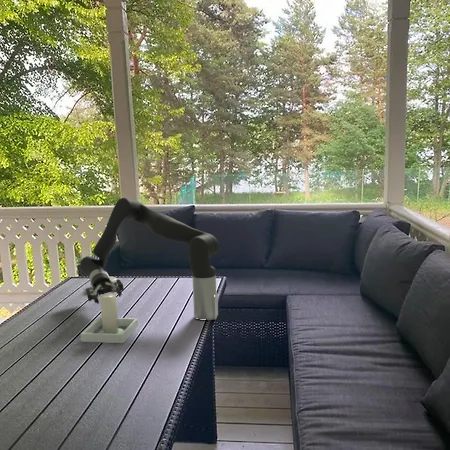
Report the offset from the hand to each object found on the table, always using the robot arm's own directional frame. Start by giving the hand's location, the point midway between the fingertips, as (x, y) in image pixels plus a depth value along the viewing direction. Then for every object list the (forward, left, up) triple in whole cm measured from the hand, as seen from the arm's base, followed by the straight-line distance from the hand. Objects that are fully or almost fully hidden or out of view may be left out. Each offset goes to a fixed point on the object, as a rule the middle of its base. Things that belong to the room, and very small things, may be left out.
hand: (108, 298), depth 172 cm
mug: (+22, -45, -11) cm, 51 cm away
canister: (-4, +9, -10) cm, 14 cm away
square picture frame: (-4, +10, -10) cm, 15 cm away
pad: (-4, +10, -10) cm, 15 cm away
